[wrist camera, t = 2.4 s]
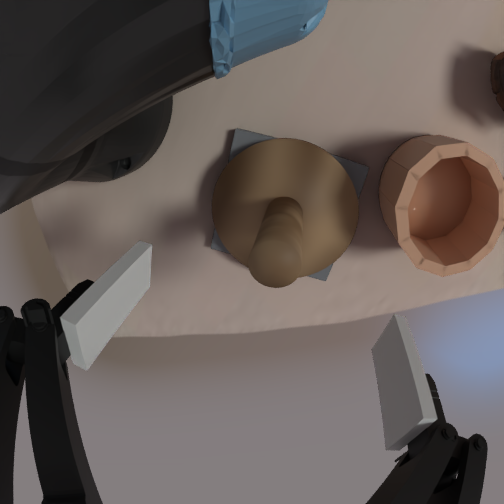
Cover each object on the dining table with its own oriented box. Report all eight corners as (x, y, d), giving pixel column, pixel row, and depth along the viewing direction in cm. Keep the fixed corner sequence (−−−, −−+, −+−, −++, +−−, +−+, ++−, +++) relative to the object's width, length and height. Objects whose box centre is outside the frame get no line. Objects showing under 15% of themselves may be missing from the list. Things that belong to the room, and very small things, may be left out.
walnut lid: (205, 251, 30) (165, 313, 21) (231, 122, 24) (188, 130, 15) (328, 286, 30) (333, 360, 21) (376, 164, 23) (416, 198, 14)
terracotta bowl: (362, 225, 27) (374, 254, 22) (399, 116, 22) (425, 119, 16) (449, 256, 26) (472, 287, 21) (488, 163, 21) (521, 178, 16)
